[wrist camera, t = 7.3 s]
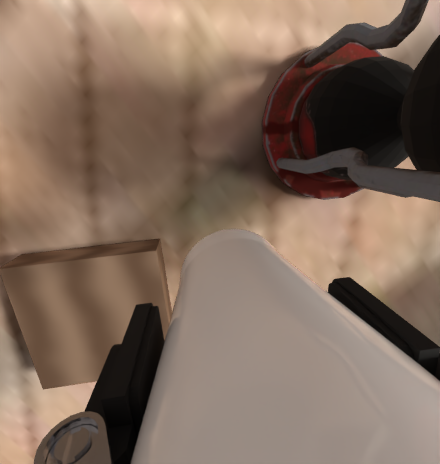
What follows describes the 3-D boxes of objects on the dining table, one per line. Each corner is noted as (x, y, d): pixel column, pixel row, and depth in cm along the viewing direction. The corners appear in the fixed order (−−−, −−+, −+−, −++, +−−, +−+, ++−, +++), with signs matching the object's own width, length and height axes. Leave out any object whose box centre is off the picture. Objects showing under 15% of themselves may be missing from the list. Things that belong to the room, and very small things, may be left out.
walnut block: (160, 238, 32) (156, 250, 29) (177, 346, 37) (176, 369, 33) (21, 254, 31) (-2, 269, 27) (58, 363, 36) (42, 389, 32)
